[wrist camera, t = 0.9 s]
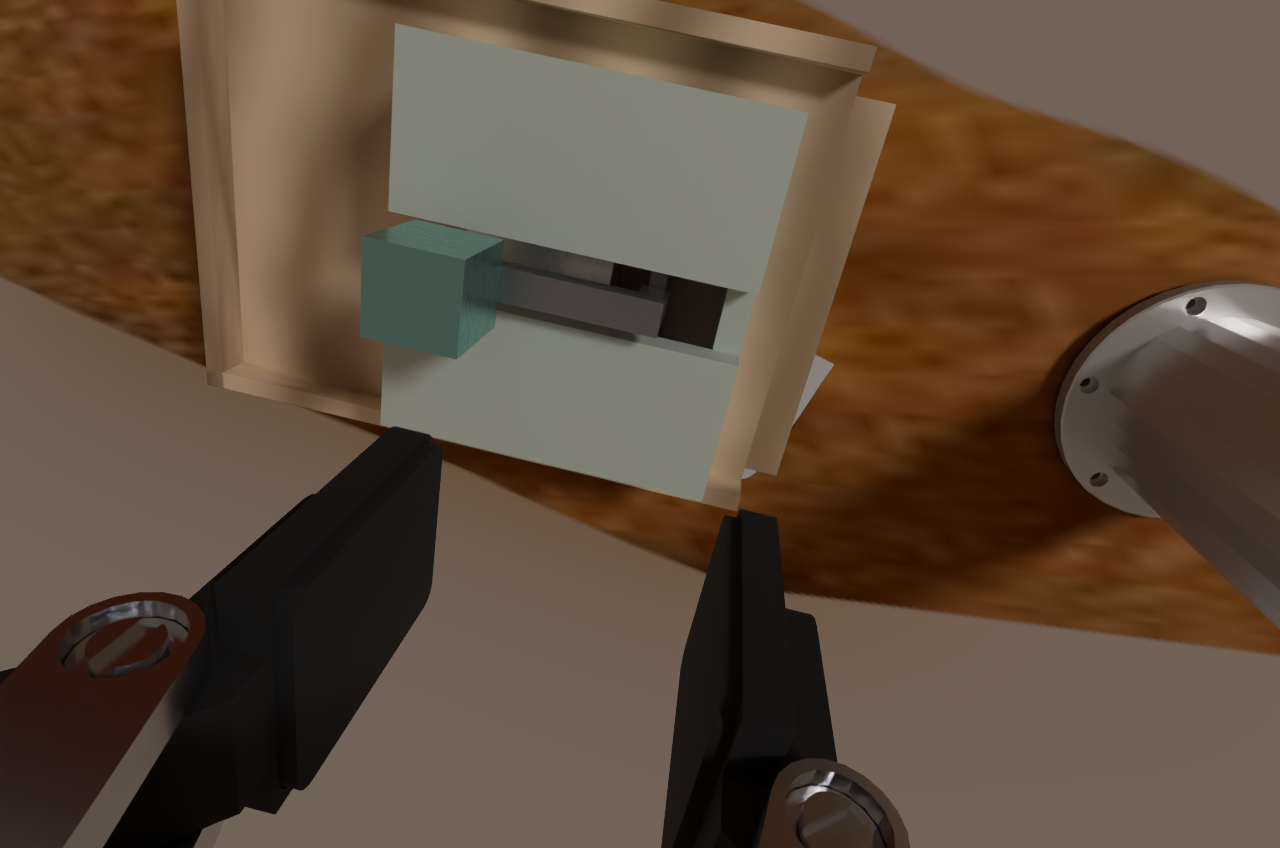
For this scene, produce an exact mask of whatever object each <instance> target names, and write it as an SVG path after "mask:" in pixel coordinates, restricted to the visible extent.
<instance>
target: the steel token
mask: <svg viewBox="0 0 1280 848" xmlns="http://www.w3.org/2000/svg"><path fill="white" fill-rule="evenodd" d="M467 231H469V232H473V233H478V234H482V235H487V236H491V237H495V238H500V239H504V248H503V257H502V261H506V262H510V263H514V264H519V265H523V266H528V267H532V268H536V269H541V270H545V271H549V272H554V273H558V274H563V275H567V276H571V277H576V278H580V279H584V280H589V281H593V282H598V283H602V284H606V285H611V286H615V287H616V282H617V277H618V271H619V266H620V264H619V263H615V262H610V261H606V260H602V259H597V258H593V257H588V256H584V255H580V254H575V253H571V252H566V251H562V250H558V249H553V248H549V247H544V246H540V245H536V244H531V243H527V242H522V241H518V240H514V239H509V238H505V237H500V236H496V235H492V234H487V233H483V232H478V231H474V230H470V229H467Z"/></svg>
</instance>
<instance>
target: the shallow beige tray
mask: <svg viewBox="0 0 1280 848" xmlns="http://www.w3.org/2000/svg"><path fill="white" fill-rule="evenodd" d="M177 13H178V25H179V37H180V49H181V62H182V74H183V86H184V99H185V111H186V123H187V135H188V148H189V160H190V172H191V185H192V197H193V209H194V221H195V234H196V246H197V258H198V271H199V283H200V295H201V307H202V320H203V332H204V344H205V357H206V369H207V381H208V385H213V386H217V387H221V388H225V389H229V390H233V391H237V392H242V393H246V394H250V395H254V396H258V397H262V398H267V399H271V400H275V401H279V402H283V403H287V404H292V405H296V406H300V407H304V408H308V409H312V410H316V411H321V412H325V413H329V414H333V415H337V416H341V417H346V418H350V419H354V420H358V421H362V422H366V423H371V424H375V425H379V426H383V427H387V428H391V427H388V426H384V425H380V424H381V397H382V369H383V342H379V341H375V340H371V339H367V338H362V337H360V308H361V260H362V236H364V235H367V234H370V233H374V232H377V231H380V230H383V229H386V228H390V227H393V226H396V225H399V224H402V223H406V222H409V221H412V220H415V219H416V220H421V221H425V222H429V223H434V224H438V225H443V226H447V227H451V228H456V229H460V230H465V231H467V229H465V228H461V227H456V226H452V225H448V224H443V223H439V222H434V221H430V220H426V219H421V218H417V217H412V216H408V215H404V214H399V213H395V212H390V211H388V205H389V178H390V151H391V123H392V96H393V69H394V41H395V23H396V24H401V25H406V26H410V27H415V28H420V29H424V30H429V31H433V32H438V33H443V34H447V35H452V36H457V37H461V38H466V39H470V40H475V41H480V42H484V43H489V44H494V45H498V46H503V47H507V48H512V49H517V50H521V51H526V52H531V53H535V54H540V55H545V56H549V57H554V58H558V59H563V60H568V61H572V62H577V63H582V64H586V65H591V66H595V67H600V68H605V69H609V70H614V71H619V72H623V73H628V74H632V75H637V76H642V77H646V78H651V79H656V80H660V81H665V82H670V83H674V84H679V85H683V86H688V87H693V88H697V89H702V90H707V91H711V92H716V93H720V94H725V95H730V96H734V97H739V98H744V99H748V100H753V101H757V102H762V103H767V104H771V105H776V106H781V107H785V108H790V109H795V110H799V111H804V112H808V113H809V114H808V118H807V121H806V125H805V129H804V132H803V136H802V139H801V143H800V147H799V150H798V154H797V158H796V161H795V165H794V169H793V172H792V176H791V179H790V183H789V187H788V190H787V194H786V198H785V201H784V205H783V209H782V212H781V216H780V219H779V223H778V227H777V230H776V234H775V238H774V241H773V245H772V249H771V252H770V256H769V259H768V263H767V267H766V270H765V274H764V278H763V281H762V285H761V289H760V292H759V295H756V296H755V299H754V303H753V307H752V310H751V314H750V318H749V321H748V325H747V329H746V332H745V336H744V340H743V343H742V347H741V351H740V354H739V368H738V372H737V376H736V379H735V383H734V387H733V390H732V394H731V398H730V401H729V405H728V408H727V412H726V416H725V419H724V423H723V427H722V430H721V434H720V438H719V441H718V445H717V448H716V452H715V456H714V459H713V463H712V467H711V470H710V474H709V478H708V481H707V485H706V488H705V492H704V496H703V499H702V502H700V501H696V500H692V499H688V498H684V497H679V496H675V495H671V494H667V493H663V492H659V491H654V490H650V489H646V488H642V487H638V486H634V485H629V484H625V483H621V482H617V481H613V480H609V479H604V478H600V477H596V476H592V475H588V474H584V473H579V472H575V471H571V470H567V469H563V468H559V467H554V466H550V465H546V464H542V463H538V462H534V461H529V460H525V459H521V458H517V457H513V456H509V455H504V454H500V453H496V452H492V451H488V450H484V449H479V448H475V447H471V446H467V445H463V444H459V443H454V442H450V441H446V440H442V439H438V438H434V437H432V438H433V439H437V440H441V441H446V442H450V443H454V444H458V445H462V446H466V447H471V448H475V449H479V450H483V451H487V452H491V453H496V454H500V455H504V456H508V457H512V458H516V459H520V460H525V461H529V462H533V463H537V464H541V465H545V466H550V467H554V468H558V469H562V470H566V471H570V472H575V473H579V474H583V475H587V476H591V477H595V478H600V479H604V480H608V481H612V482H616V483H620V484H625V485H629V486H633V487H637V488H641V489H645V490H650V491H654V492H658V493H662V494H666V495H670V496H675V497H679V498H683V499H687V500H691V501H695V502H700V503H704V504H708V505H712V506H716V507H720V508H725V509H729V510H733V511H737V508H738V505H739V502H740V498H741V479H742V476H743V472H744V469H745V468H747V469H751V470H755V471H759V472H763V473H768V474H772V475H777V472H778V469H779V465H780V462H781V459H782V456H783V453H784V450H785V447H786V444H787V441H788V438H789V435H790V431H791V428H792V425H793V422H794V419H795V416H796V413H797V410H798V407H799V404H800V401H801V397H802V394H803V391H804V388H805V385H806V382H807V379H808V376H809V373H810V370H811V367H812V363H813V360H814V357H815V354H816V351H817V348H818V345H819V342H820V339H821V336H822V333H823V329H824V326H825V323H826V320H827V317H828V314H829V311H830V308H831V305H832V302H833V299H834V295H835V292H836V289H837V286H838V283H839V280H840V277H841V274H842V271H843V268H844V265H845V261H846V258H847V255H848V252H849V249H850V246H851V243H852V240H853V237H854V234H855V231H856V227H857V224H858V221H859V218H860V215H861V212H862V209H863V206H864V203H865V200H866V197H867V193H868V190H869V187H870V184H871V181H872V178H873V175H874V172H875V169H876V166H877V163H878V159H879V156H880V153H881V150H882V147H883V144H884V141H885V138H886V135H887V132H888V129H889V125H890V122H891V119H892V116H893V113H894V110H895V107H896V104H892V103H887V102H882V101H878V100H873V99H868V98H864V97H859V96H856V95H857V91H858V88H859V85H860V81H861V78H862V75H864V74H867V73H869V72H870V69H871V66H872V62H873V59H874V56H875V52H876V49H877V47H876V46H872V45H867V44H862V43H858V42H853V41H848V40H843V39H839V38H834V37H829V36H824V35H820V34H815V33H810V32H806V31H801V30H796V29H791V28H787V27H782V26H777V25H772V24H768V23H763V22H758V21H753V20H749V19H744V18H739V17H735V16H730V15H725V14H720V13H716V12H711V11H706V10H701V9H697V8H692V7H687V6H682V5H678V4H673V3H668V2H664V1H659V0H177ZM651 273H652V271H650V270H646V269H641V268H637V267H632V266H628V265H624V264H620V266H619V271H618V277H617V282H616V287H619V288H624V289H628V290H633V291H637V292H639V290H640V288H641V287H642V285H643V283H644V282H645V283H650V278H651ZM670 288H671V290H670V294H669V299H668V304H667V308H666V313H665V316H664V319H663V322H662V327H661V331H660V336H659V337H660V338H665V339H669V340H673V341H678V342H682V343H686V344H691V345H695V346H699V347H704V348H708V349H709V345H710V341H711V337H712V333H713V329H714V325H715V321H716V317H717V313H718V309H719V305H720V301H721V297H722V293H723V289H724V287H720V286H716V285H712V284H707V283H703V282H698V281H694V280H690V279H685V278H681V277H676V276H672V281H671V285H670Z"/></svg>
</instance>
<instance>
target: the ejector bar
mask: <svg viewBox="0 0 1280 848" xmlns="http://www.w3.org/2000/svg"><path fill="white" fill-rule="evenodd" d="M503 248H504V239H500V238H495V237H491V236H487V235H482V234H478V233H473V232H469V231H465V230H460V229H456V228H451V227H447V226H443V225H438V224H434V223H429V222H425V221H421V220H416V219H415V220H412V221H409V222H406V223H402V224H399V225H396V226H393V227H390V228H386V229H383V230H380V231H377V232H374V233H370V234H367V235H364V236H362V260H361V308H360V337H362V338H367V339H371V340H375V341H379V342H384V343H388V344H392V345H396V346H401V347H405V348H409V349H413V350H418V351H422V352H426V353H430V354H435V355H439V356H443V357H448V358H452V359H456V360H457V359H458V358H459V357H460V356H462V355H463V354H464V353H465V352H466V351H467V350H469V349H470V348H471V347H472V346H473V345H474V344H476V343H477V342H478V341H479V340H480V339H481V338H483V337H484V336H485V335H486V334H487V333H488V332H490V331H491V330H492V329H493V328H494V327H495V321H496V312H497V303H498V302H501V303H505V304H509V305H514V306H518V307H522V308H527V309H531V310H535V311H540V312H544V313H548V314H553V315H557V316H561V317H565V318H570V319H574V320H578V321H583V322H587V323H591V324H596V325H600V326H604V327H609V328H613V329H617V330H622V331H626V332H630V333H635V334H639V335H643V336H648V337H652V338H657V337H659V336H660V331H661V327H662V322H663V319H664V316H665V313H666V308H667V304H668V299H669V294H670V290H671V288H670V285H671V281H672V275H668V274H663V273H659V272H654V271H652V273H651V278H650V283H645V282H644V283H643V285H642V287H641V288H640V290H639V292H637V291H633V290H628V289H624V288H619V287H615V286H611V285H606V284H602V283H598V282H593V281H589V280H584V279H580V278H576V277H571V276H567V275H563V274H558V273H554V272H549V271H545V270H541V269H536V268H532V267H528V266H523V265H519V264H514V263H510V262H506V261H502V257H503Z"/></svg>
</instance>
